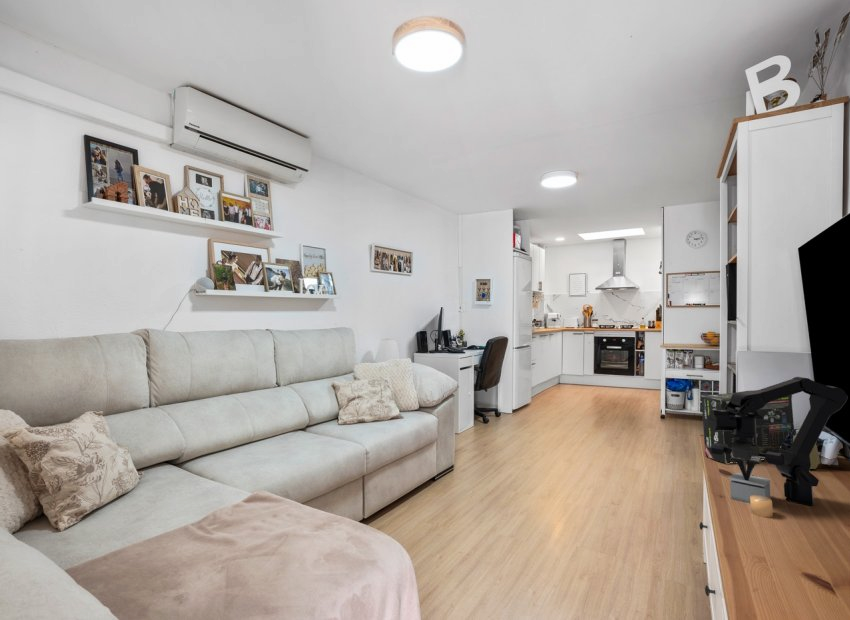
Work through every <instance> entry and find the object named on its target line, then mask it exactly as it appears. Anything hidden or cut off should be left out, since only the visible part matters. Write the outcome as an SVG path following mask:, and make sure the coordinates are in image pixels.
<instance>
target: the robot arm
mask: <svg viewBox="0 0 850 620" xmlns="http://www.w3.org/2000/svg"><path fill="white" fill-rule="evenodd" d="M802 392H803V393H805V394H807V395H809V398H808V400H809V405H810V407H809V410H808V413H807V414H806V416H805V418H804V420H803V421H804V422H803V424H802V426H801V428H800V427H799V429H800V430H799V429H798V430H799V432H798V433H797V434H795V435H796V437H795V439H794V441H793V443H792V445H791V447H790V448H788V449H786V450H784V449H782V448H780V450H779V452H778V453H776V452H770V451H768V452H767V453H766V454H764V453H760V451H759V446H758V445H757V441H756V419H763V417H762V416H761V415H760V414H759V413H758V412H757V411H758V410H759V409H761V408H763V407H764V406H765V405H766V404H767V403H769V402H771V401H774V400H777V399H781V398H784V397H787V396H790V395H792V396H793V395H795V394H799V393H802ZM733 393H734V394H733V395H732V397H731V400H730V401H729V403H728V404H727V405H726V406H725V408H724V409H723V410H715V409H711V413H710V414H709V415H708V418H707V423H708V426H709V428H710V429H711V430H714V431H733V430H735V435H734V436H735V437H734V441H733V444H732V447H731V448H729V447H728V445H727V444H721V443H714V444H713V445H711V447H710V453H713V454H718V455H722V454H723V453H730V454H731V455H732V457H731V459H732V460H735V461H736V462H737V463H736V464H737V465H738V467H739V469H740V471H741V474H743V477H744V479H745V480H747V481H748V480H749V478H750V476H752V473H753V470H754V468H755V466H756V465H760V463H762V461H765V462H766V463H768V464H770V465H775V468H776V469H777V471H778V472H779V473H780V475H781V477H783V478H785V482H784V484H783V490H784V491H783V495H784V497H785V501H787V502H791V503H797V504H801V505H805V506H810V507H813V506H814V505H815V498H814V487H817V486H818V485H819V483H820V482H819V481H820V480H819V478H817V477H816V476H815V475H814V474H813V473H811V472H810V471H811V470H810V467H811V462H810V453H811V452H812V450H813V448H814V446H815V444H817V442H818V440H819V437H820V436H821V433H822V432H823V430H824V428H825V426H826V425H827V422H828V420H829V419H830V417H831V416H832V415H833V414H835V413H836V412H838V411H840V410H841V409H842V407H843V406H844V405H845V404H846V403H847V402H848V401H847V400H848V395H847V393H846V391H845V390H844V389H842V388H840V387H837V386H831V385H826V384H823V383H820V382H818V381H817V382H816V381H815V380H812V379H810V378H807V377H802V376H795V377H793V378H791V379H788V380H784V381H781V382H779V383H775V384H773V385H770V386H766V387H763V388H760V389H756V390H755V389H753V390H743V391H737V392H733ZM736 408H737V409H739V410H737V409H736ZM761 459H764V460H761ZM745 460H748V461H747V462H746V461H745Z"/></svg>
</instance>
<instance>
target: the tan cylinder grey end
mask: <svg viewBox="0 0 850 620" xmlns="http://www.w3.org/2000/svg"><path fill="white" fill-rule="evenodd" d="M750 502H751V503H750V512H751V514H753V515H755V516H758V517H762V518H769V519H770V518H773V516H774V512H773V510H774V509H773V500H772V499H771V498H770V499H769V498H767V497H764V496H758V495H752V496H750Z"/></svg>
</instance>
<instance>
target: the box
mask: <svg viewBox="0 0 850 620" xmlns="http://www.w3.org/2000/svg"><path fill="white" fill-rule="evenodd" d="M729 481H730V482H729V484H730V485H729V487H730V499H731V500H735V501H739V502H744V503H747V504H748V503H749V504H751V502H750V496H752V495H758V496H764V497H767V498H769V499H771V498H772V497H771V483H770V482H771V481H770V482H769V483H768V484H767V485H766V486H765V487H762V486H758V485H753V484H748V483H743V482H738V481H733V480H729Z"/></svg>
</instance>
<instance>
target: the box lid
mask: <svg viewBox="0 0 850 620" xmlns="http://www.w3.org/2000/svg"><path fill="white" fill-rule="evenodd" d="M728 479H729V481H731V480H733V481H738V482H743V483H748V484H753V485H758V486H762V487H765V486H766V485H767V484H768V483H769V482H771V479H769V478H765V477H759V476H754V475H750V478H749V480H748V481H747V480H745V479H744V477H743V474H742V473H739V472H735V473H734V474H733V475H731V476H729V478H728Z"/></svg>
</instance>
